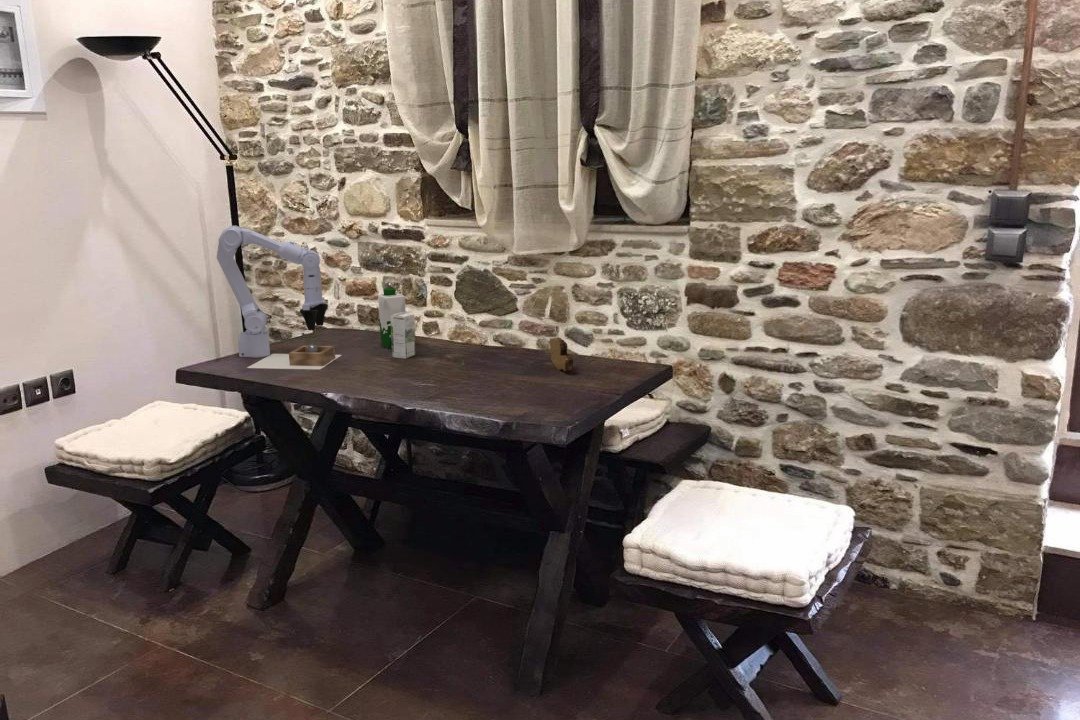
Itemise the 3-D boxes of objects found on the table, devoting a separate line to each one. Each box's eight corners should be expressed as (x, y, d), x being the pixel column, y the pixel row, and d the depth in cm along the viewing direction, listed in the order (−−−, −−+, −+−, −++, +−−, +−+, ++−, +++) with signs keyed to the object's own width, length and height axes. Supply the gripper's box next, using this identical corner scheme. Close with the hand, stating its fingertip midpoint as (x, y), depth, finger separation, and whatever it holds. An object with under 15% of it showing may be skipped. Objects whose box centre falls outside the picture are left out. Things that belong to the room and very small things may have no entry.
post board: (246, 371, 275) (244, 351, 274) (273, 357, 295) (271, 338, 293) (320, 373, 272) (319, 352, 271) (342, 358, 292) (340, 339, 290)
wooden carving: (579, 374, 268) (579, 342, 265) (565, 375, 266) (565, 343, 264) (557, 362, 282) (557, 332, 280) (544, 364, 281) (543, 333, 278)
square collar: (289, 365, 278) (288, 353, 277) (303, 357, 288) (302, 345, 287) (323, 366, 276) (322, 353, 275) (335, 358, 287) (334, 346, 286)
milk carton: (401, 342, 315) (399, 287, 311) (410, 347, 308) (407, 290, 303) (378, 345, 312) (375, 289, 307) (386, 349, 304) (383, 292, 299)
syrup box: (401, 354, 297) (399, 311, 294) (416, 355, 294) (414, 313, 291) (391, 357, 292) (389, 314, 289) (406, 359, 289) (404, 316, 286)
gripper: (316, 291, 284) (319, 332, 287) (332, 284, 298) (334, 323, 301) (295, 290, 285) (298, 332, 288) (312, 284, 299) (314, 323, 302)
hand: (315, 327), depth 295 cm, fingers open, 7 cm apart
